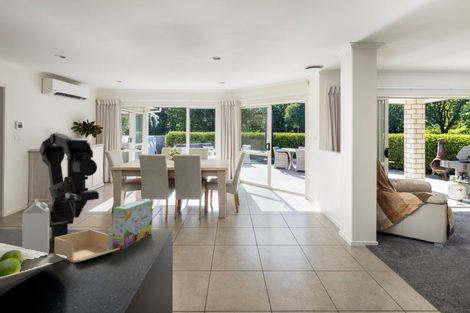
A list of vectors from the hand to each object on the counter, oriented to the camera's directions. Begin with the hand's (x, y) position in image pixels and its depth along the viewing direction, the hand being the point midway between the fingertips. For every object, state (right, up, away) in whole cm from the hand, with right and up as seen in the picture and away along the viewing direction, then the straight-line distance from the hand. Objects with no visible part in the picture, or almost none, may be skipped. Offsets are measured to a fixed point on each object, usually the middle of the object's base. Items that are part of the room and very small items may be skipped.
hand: (76, 217), depth 108 cm
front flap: (+8, -12, -5) cm, 16 cm away
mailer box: (+3, -12, -2) cm, 13 cm away
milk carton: (-12, -12, -4) cm, 17 cm away
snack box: (+16, -12, +14) cm, 24 cm away
